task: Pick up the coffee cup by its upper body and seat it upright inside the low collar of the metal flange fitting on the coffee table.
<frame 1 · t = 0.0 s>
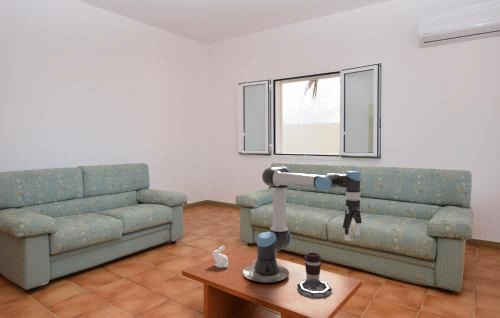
hand: (352, 237, 177), 28 cm above the table, fingers open, 13 cm apart
coffee cup: (312, 279, 188), on the table
rabbit: (220, 265, 209), on the table
flange: (314, 289, 175), on the table
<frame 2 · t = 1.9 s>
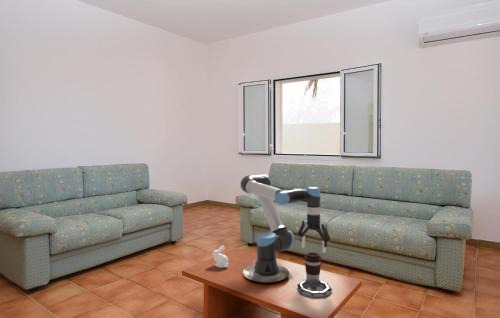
hand: (313, 249, 187), 18 cm above the table, fingers open, 13 cm apart
nothing on the table moved.
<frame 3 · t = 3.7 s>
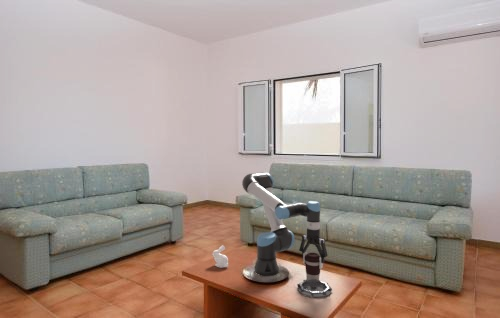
hand: (312, 265, 187), 8 cm above the table, fingers closed on coffee cup, 10 cm apart
coffee cup: (312, 279, 188), on the table, touching gripper
everything else where it was.
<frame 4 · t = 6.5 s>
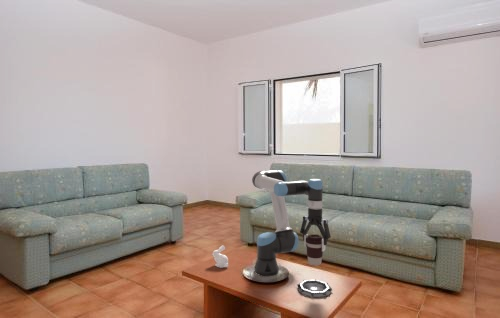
hand: (314, 248, 174), 23 cm above the table, fingers closed on coffee cup, 10 cm apart
coffee cup: (314, 263, 174), point 15 cm above the table, touching gripper
everything else where it was.
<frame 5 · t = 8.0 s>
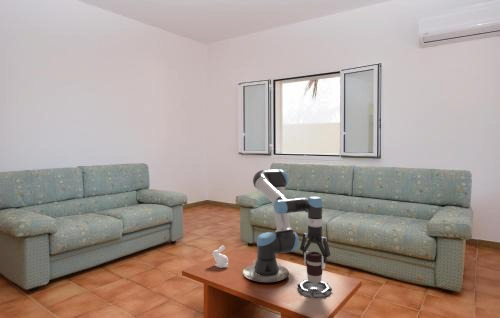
hand: (314, 265, 174), 13 cm above the table, fingers closed on coffee cup, 10 cm apart
coffee cup: (314, 280, 175), point 5 cm above the table, touching gripper
everything else where it was.
when the fingers open (12 cm above the table, at t = 9.4 s): coffee cup drops 2 cm, resting on flange.
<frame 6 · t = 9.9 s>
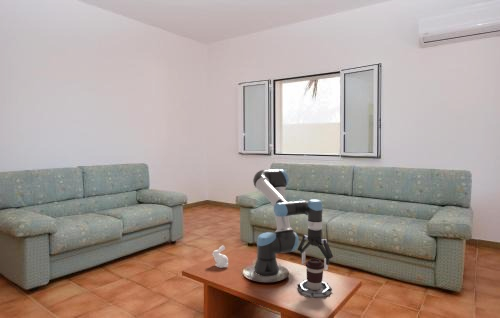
hand: (314, 267, 174), 13 cm above the table, fingers open, 13 cm apart
coffee cup: (314, 287, 175), point 1 cm above the table, touching flange
everything else where it was.
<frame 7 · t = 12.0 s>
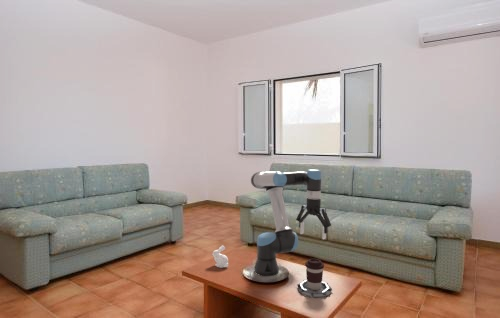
hand: (312, 236, 176), 29 cm above the table, fingers open, 13 cm apart
nothing on the table moved.
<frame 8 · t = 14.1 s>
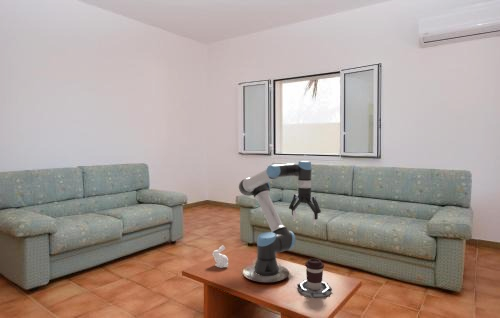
hand: (304, 222, 190), 33 cm above the table, fingers open, 13 cm apart
nothing on the table moved.
at the end: coffee cup 0.0 cm from the flange (horizontally); coffee cup point 1.0 cm above the table; coffee cup tilted 0°; the gripper is holding nothing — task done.
